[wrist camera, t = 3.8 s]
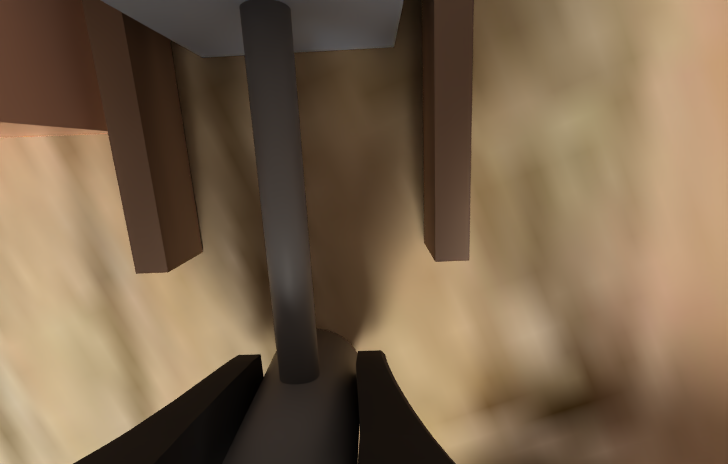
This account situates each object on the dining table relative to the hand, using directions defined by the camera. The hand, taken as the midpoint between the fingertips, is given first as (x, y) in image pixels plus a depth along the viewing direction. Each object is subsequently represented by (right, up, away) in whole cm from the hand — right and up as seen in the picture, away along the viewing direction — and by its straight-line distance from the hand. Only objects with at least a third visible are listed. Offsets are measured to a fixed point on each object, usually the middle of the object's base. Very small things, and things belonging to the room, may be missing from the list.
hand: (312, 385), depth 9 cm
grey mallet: (0, +7, 0) cm, 7 cm away
